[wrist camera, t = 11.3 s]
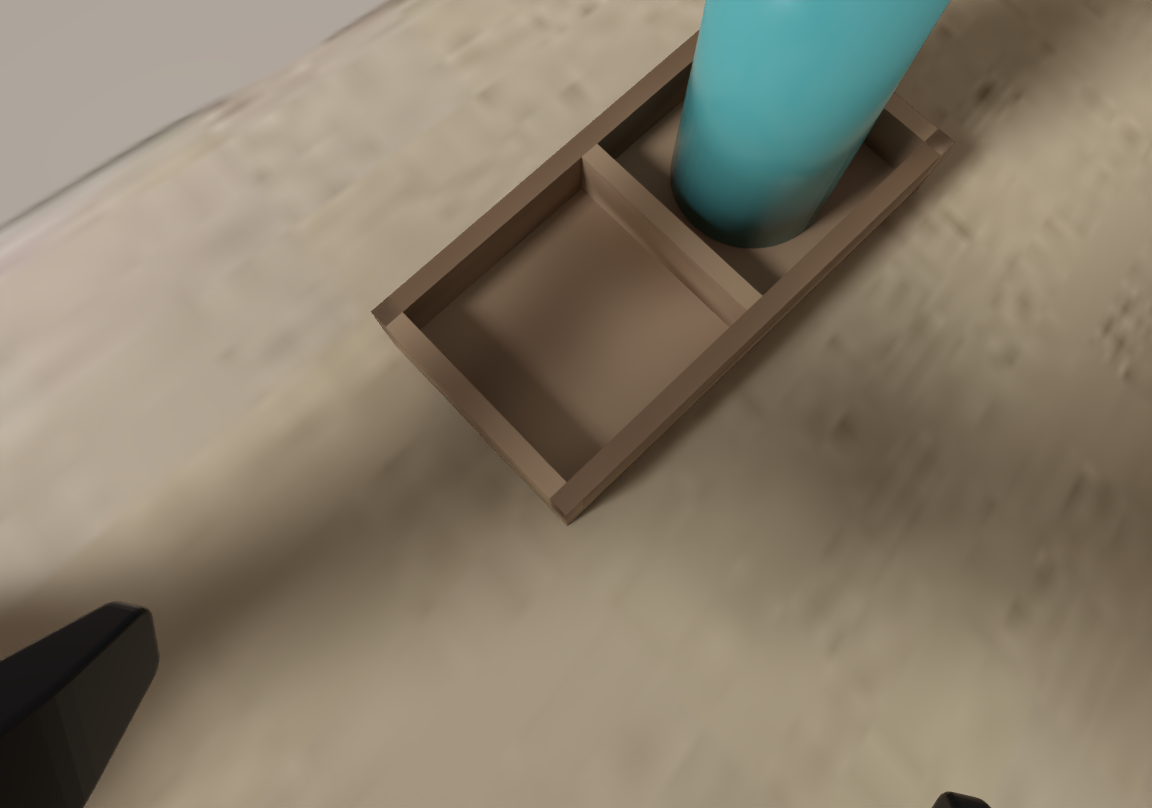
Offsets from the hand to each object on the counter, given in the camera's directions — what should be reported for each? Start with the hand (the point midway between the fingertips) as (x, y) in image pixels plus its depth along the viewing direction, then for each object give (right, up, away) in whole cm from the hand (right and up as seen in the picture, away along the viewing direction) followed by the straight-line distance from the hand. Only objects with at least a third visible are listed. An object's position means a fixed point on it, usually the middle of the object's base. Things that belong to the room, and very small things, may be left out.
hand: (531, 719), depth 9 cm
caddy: (+3, +8, +16) cm, 18 cm away
